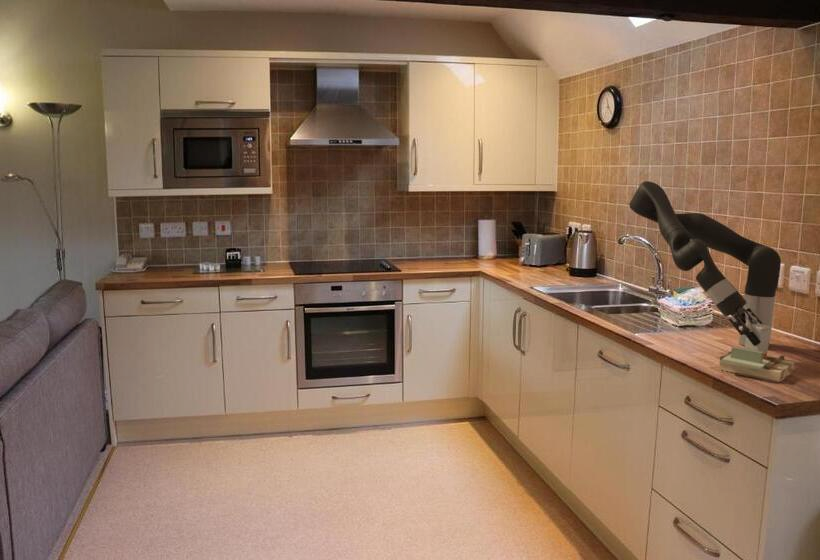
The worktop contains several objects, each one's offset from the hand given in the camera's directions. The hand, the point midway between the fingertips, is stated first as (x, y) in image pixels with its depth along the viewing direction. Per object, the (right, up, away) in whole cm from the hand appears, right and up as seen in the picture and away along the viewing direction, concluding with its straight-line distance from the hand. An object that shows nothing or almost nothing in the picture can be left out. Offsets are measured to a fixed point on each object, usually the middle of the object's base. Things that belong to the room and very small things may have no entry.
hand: (762, 341), depth 203 cm
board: (-2, -8, -1) cm, 9 cm away
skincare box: (-1, -7, +2) cm, 8 cm away
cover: (-7, -6, -5) cm, 10 cm away
